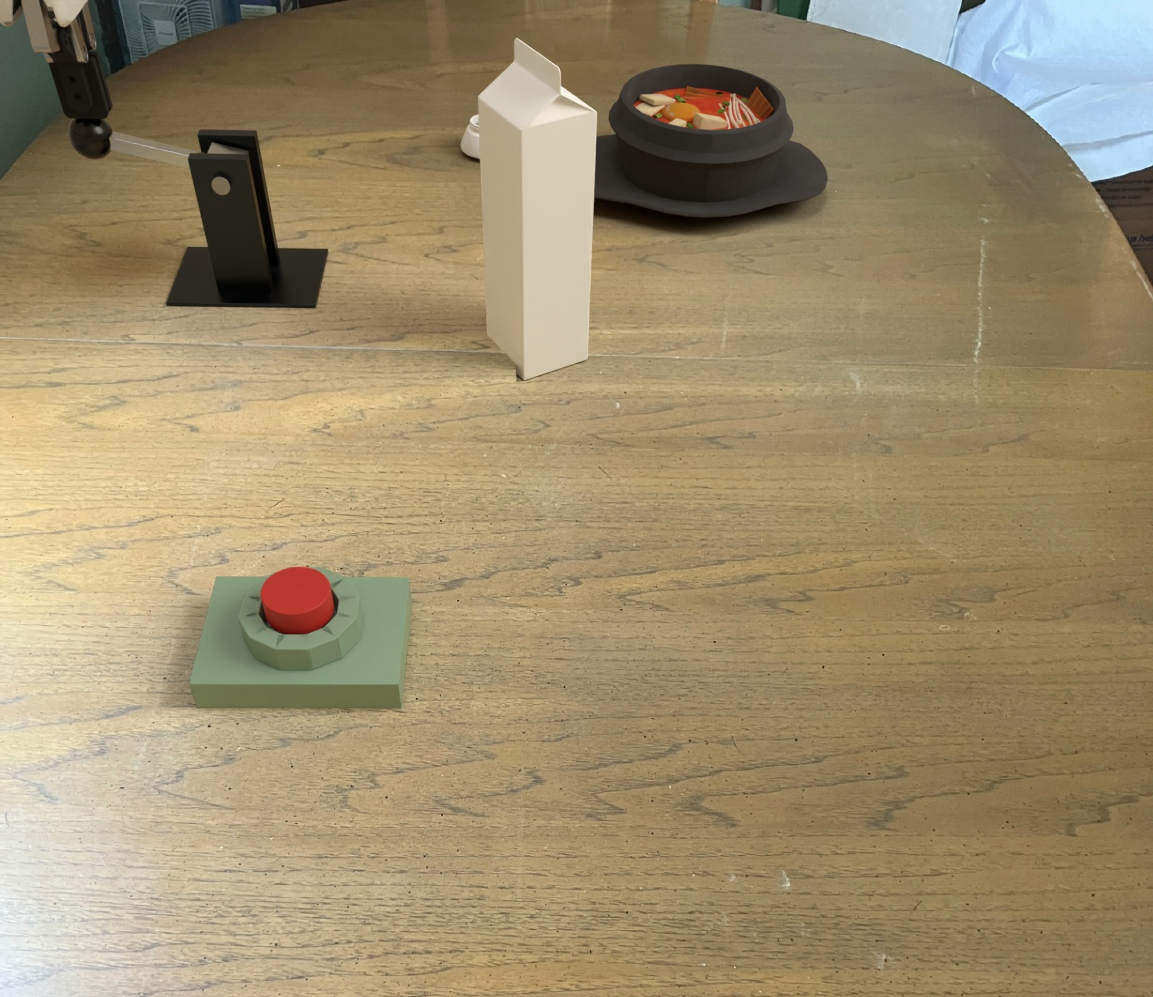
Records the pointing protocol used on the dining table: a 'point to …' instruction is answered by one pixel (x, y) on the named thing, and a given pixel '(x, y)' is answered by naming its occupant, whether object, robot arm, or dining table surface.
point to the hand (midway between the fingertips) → (89, 113)
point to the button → (297, 600)
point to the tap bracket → (241, 236)
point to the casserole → (703, 145)
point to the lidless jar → (471, 139)
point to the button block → (305, 648)
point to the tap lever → (130, 144)
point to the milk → (537, 214)
